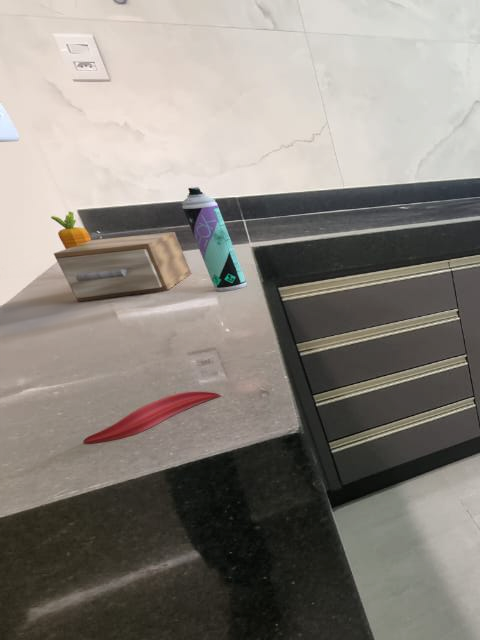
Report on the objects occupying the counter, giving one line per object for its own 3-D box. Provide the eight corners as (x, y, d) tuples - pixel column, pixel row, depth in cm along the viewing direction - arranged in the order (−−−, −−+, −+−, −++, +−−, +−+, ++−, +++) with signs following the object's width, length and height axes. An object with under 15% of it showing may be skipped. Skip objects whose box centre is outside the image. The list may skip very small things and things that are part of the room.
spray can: (219, 286, 112) (181, 187, 103) (249, 282, 114) (214, 185, 105) (212, 292, 107) (171, 190, 99) (243, 288, 109) (205, 187, 101)
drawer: (152, 292, 106) (135, 253, 103) (65, 304, 101) (44, 263, 98) (183, 272, 122) (169, 238, 119) (109, 281, 117) (92, 246, 114)
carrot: (78, 279, 125) (46, 214, 119) (80, 276, 128) (49, 213, 122) (106, 275, 128) (76, 211, 122) (107, 271, 131) (78, 210, 125)
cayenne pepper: (84, 450, 53) (75, 434, 52) (81, 435, 55) (72, 419, 55) (227, 403, 60) (221, 388, 60) (218, 392, 63) (212, 378, 63)
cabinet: (168, 290, 111) (147, 243, 107) (77, 301, 106) (53, 253, 102) (191, 273, 124) (174, 231, 120) (112, 283, 119) (92, 240, 115)
